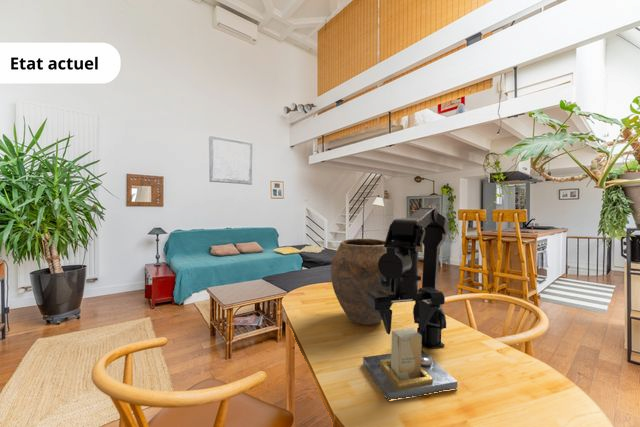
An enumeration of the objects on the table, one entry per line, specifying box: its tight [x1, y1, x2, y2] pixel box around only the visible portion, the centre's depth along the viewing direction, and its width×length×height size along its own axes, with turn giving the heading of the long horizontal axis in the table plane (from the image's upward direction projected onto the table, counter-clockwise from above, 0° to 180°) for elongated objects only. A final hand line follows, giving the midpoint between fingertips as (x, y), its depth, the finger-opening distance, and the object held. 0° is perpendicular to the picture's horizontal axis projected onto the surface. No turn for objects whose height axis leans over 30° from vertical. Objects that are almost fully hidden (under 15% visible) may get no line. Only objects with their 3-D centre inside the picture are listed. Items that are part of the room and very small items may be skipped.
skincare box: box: [390, 327, 422, 381], centre depth 70 cm, size 6×4×12 cm
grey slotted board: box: [362, 349, 458, 400], centre depth 72 cm, size 18×15×3 cm
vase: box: [330, 238, 394, 326], centre depth 106 cm, size 26×26×30 cm
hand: (405, 331), depth 69 cm, fingers open, 9 cm apart
